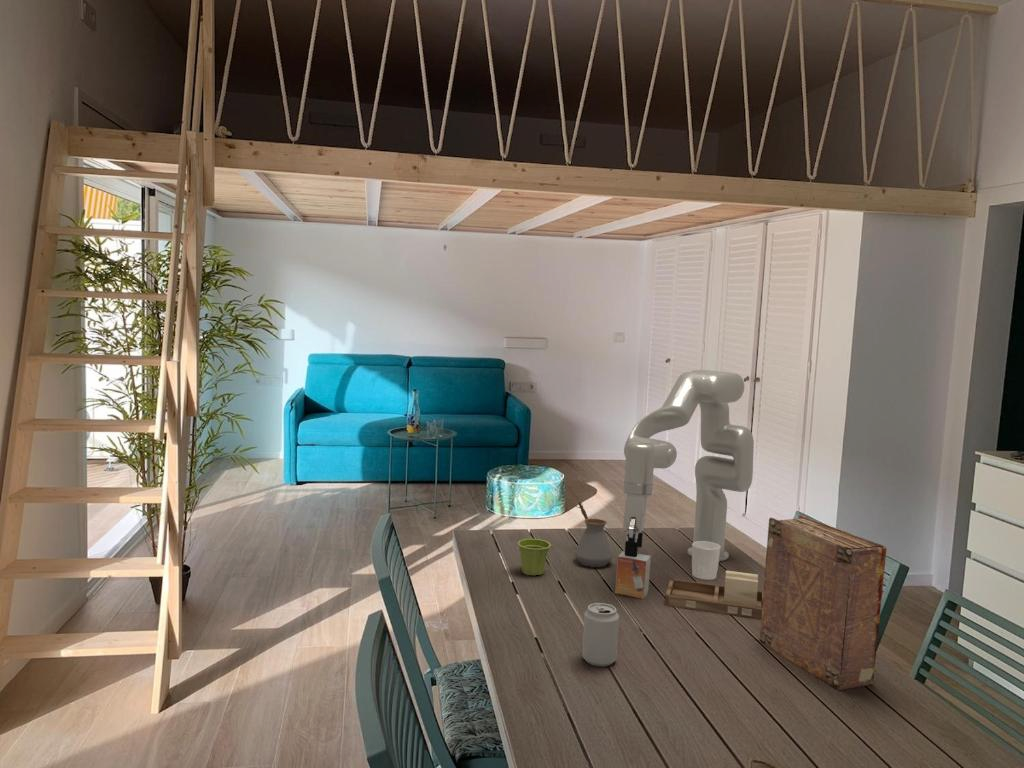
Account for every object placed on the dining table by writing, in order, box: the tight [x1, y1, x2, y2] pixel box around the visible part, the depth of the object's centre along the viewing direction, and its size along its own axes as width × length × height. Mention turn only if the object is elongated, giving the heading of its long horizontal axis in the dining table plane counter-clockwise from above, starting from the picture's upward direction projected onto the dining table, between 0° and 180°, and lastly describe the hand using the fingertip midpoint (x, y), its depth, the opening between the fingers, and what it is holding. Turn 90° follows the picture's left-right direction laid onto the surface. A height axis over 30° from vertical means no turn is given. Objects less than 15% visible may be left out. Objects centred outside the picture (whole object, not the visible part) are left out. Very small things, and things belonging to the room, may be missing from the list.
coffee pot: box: [574, 502, 614, 568], centre depth 244 cm, size 21×12×15 cm, turn 14°
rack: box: [664, 578, 764, 620], centre depth 209 cm, size 14×25×4 cm, turn 74°
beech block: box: [724, 570, 759, 607], centre depth 207 cm, size 6×8×8 cm
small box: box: [614, 550, 652, 600], centre depth 216 cm, size 8×6×10 cm
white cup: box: [691, 541, 720, 581], centre depth 230 cm, size 8×8×10 cm
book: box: [759, 515, 887, 691], centre depth 177 cm, size 25×9×30 cm, turn 22°
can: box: [581, 602, 620, 667], centre depth 174 cm, size 8×8×12 cm
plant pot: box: [517, 538, 552, 576], centre depth 229 cm, size 9×9×9 cm
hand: (633, 551), depth 215 cm, fingers open, 9 cm apart
